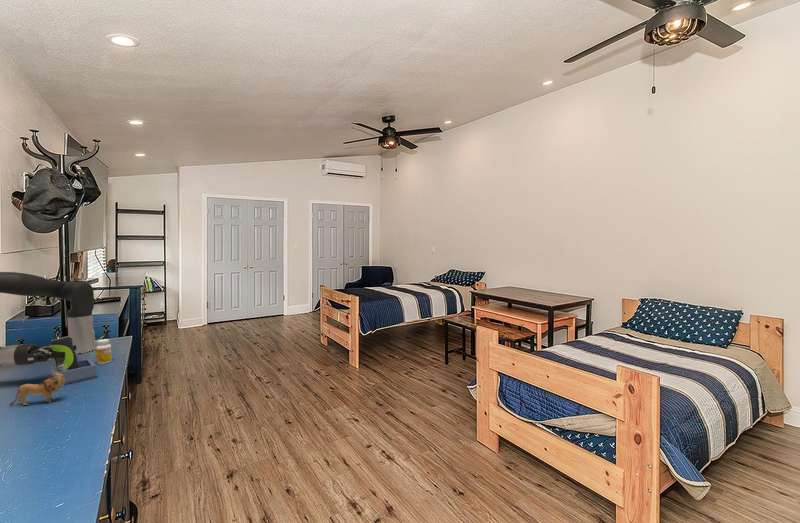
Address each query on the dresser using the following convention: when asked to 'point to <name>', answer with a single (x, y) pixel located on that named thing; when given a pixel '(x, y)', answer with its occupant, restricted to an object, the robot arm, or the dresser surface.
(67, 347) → the beverage can
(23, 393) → the lion figurine
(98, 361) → the supplement bottle
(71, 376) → the slate blue open bin
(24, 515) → the dresser surface
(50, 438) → the dresser surface
